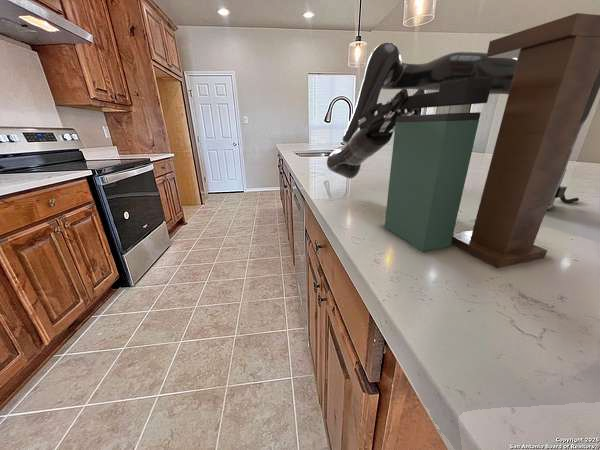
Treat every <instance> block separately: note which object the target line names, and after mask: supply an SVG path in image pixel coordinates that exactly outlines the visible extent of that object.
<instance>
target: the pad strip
mask: <svg viewBox="0 0 600 450" xmlns="http://www.w3.org/2000/svg"><path fill="white" fill-rule="evenodd" d="M492 81H493V78H466V79H461V80H456V81H451V82H445V83H441V84H440V88H439V91H431V92H425V94H419V95H413V94H412V95H408V100H407V101H406V102H405V103H404V104H403V105H402V106H401V107H400V108H399V109H398V110H403V109H405V110H407V109H416V108H418V109H428V108H438V107H450V106H451V107H452V106H466V105H468V106H469V105H479V104H481V105H482V104H487V103H488V102H489V101H488V100H489V97H490V94H489V93H490V89H491V85H492ZM391 100H392V98H390V101H391Z"/></svg>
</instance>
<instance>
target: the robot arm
mask: <svg viewBox="0 0 600 450" xmlns="http://www.w3.org/2000/svg"><path fill="white" fill-rule="evenodd" d="M486 56H487V52H479V51H455V52H450V53H448V54H447V53H446V54H444V55H442V56H439V57H437V58H434V59H433V60H430V61H428V62H425V63H424V62H423V63H408V62H407V63H406V62H402V57H401V52H400V51H399V47H398V46H397V45H396V44H395V43H394V42H390V41H389V42H383V43H381V44H379V45H378V46H376V47H375V48H374V49H373V50H372V52H371V53H370V55H369V57H368V60H367V63H366V64H367V65H366V68H365V72H364V77H363V80H362V83H361V87H360V89H359V93H358V97H357V100H356V104H355V107H354V109H353V112H352V114H351V117H350V120H349V122H348V124H347V127H346V129H345V131H344V133H343V136H342V142H343V144H342V145H339V146H338V147H336V148H334V149H333V150H332V151H331V152H330V153H329V154H328V157H327V159H326V167H327V169H328V170H329V171H330V172H331V173H335V174H337V175H339V176H342V177H343V178H346V179H348V180H349V179H350V180H351V179H354V178H356V176H357V175H358V174H359V172H360V170H361V166H362V164H363V163H364V162H365V161H367V160H368V159H370V157H372V156H374V155H375V154H377V152H379V151H380V150H381V149H382V148H383V147H384V146H386V145H387V144H388V143H389V142H390V141H391V139H392V137H393V134H394V133H395V124H396V116H412V115H421V112H420V110H419V109H420V108H416V109H403V110H398V109H399V108H400V107H401V106H402V105H403V104H404V103H405V102H406V101H407V100H408V96H409V92H408V90H416V91H415V92H414V93H413V94H412V95H419V94H426V92H425V91H429V92H430V91H431V92H439V88H440V84H441V83H445V82H451V81H456V80H461V79H466V78H493V81H492V85H491V89H490V93H489V95H509V91H510V87H511V83H512V79H513V76H514V72H515V68H516V64H517V60H518V58H489V57H486ZM382 90H390V91H391V90H400V91H398V92H397V93H396V94H395V95H394V96H393V97H392V98H391V99H392V100H391V99H390V100H388V101H386V102H385V104H383V102H378V101H379V97H380V94H381V91H382ZM599 92H600V70H599V72H598V75H597V78H596V80H595V83H594V85H593V88H592V91H591V93H590V96H589V99H588V101H587V104H586V107H585V109H584V112H583V115H582V117H581V120H580V122H579V125H578V128H577V130H576V133H575V136H574V138H573V141H572V144H571V146H570V149H569V152H568V154H567V157H566V160H565V162H564V165H563V167H562V170H561V173H560V175H559V178H558V181H557V183H556V186H555V189H554V191H553V194H552V197H551V199H550V202H549V204H548V207H547V210H546V211H548V210H551V209H552V207H553V205H554V203H555V200H556V199H559V200H560V201H561V202H562V203H564V204H570V203H571V204H572V203H575V202H578V201H579V200H580V198H579V197H573V198H569V199H568V198H566V195H565V193H566V191H567V189H568V186H562V182H563V180H564V177H565V175H566V171H567V167H568V164H569V161H570V158H571V156H572V154H573V151H574V148H575V145H576V142H577V140H578V138H579V135H580V133H581V130H582V128H583V126H584V124H585V123H586V121H587V119H588V118H589V115H590V113H591V110H592V109H593V106H594V103H595V101H596V98H597V97H598V94H599ZM376 112H377V113H376Z"/></svg>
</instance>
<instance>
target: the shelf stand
mask: <svg viewBox="0 0 600 450" xmlns="http://www.w3.org/2000/svg"><path fill="white" fill-rule="evenodd" d="M486 53H487V56H486V57H489V58H514V59H518V60H517V64H516V68H515V72H514V76H513V79H512V83H511V87H510V91H509V94H507V99H506V103H505V105H504V111H503V115H502V118H501V121H500V125H499V129H498V133H497V137H496V141H495V145H494V148H493V152H492V156H491V160H490V163H489V167H488V170H487V175H486V179H485V183H484V186H483V190H482V194H481V198H480V201H479V205H478V206H479V207H478V209H477V214H476V217H475V221H474V224H473V229H471V230H466V231H459V232H453V237H452V241H451V245H452V246H455V247H457V248H458V249H461V250H462V251H464V252H466V253H468V254H470V255H471V256H474V257H475V258H477V259H479V260H481V261H483V262H485V263H486V264H489V265H490V266H492V267H494V268H496V269H500V268H505V267H510V266H514V265H518V264H523V263H527V262H532V261H536V260H541V259H545V258H546V256H547V253H548V249H546V248H543V247H541V246H538V245H536V244H535V241H536V239H537V236H538V233H539V230H540V228H541V226H542V222H543V221H544V218H545V215H546V212H547V211H548V210H547V207H548V204H549V202H550V199H551V197H552V194H553V191H554V189H555V186H556V183H557V181H558V178H559V175H560V173H561V170H562V167H563V165H564V162H565V160H566V157H567V154H568V152H569V149H570V146H571V144H572V141H573V138H574V136H575V133H576V130H577V128H578V125H579V122H580V120H581V117H582V115H583V112H584V109H585V107H586V104H587V101H588V99H589V96H590V93H591V91H592V88H593V85H594V83H595V80H596V78H597V75H598V72H599V70H600V14H594V13H593V14H591V13H580V12H576V13H573V14H569V15H566V16H563V17H561V18H557V19H555V20H554V19H553V20H551V21H548V22H545V23H541V24H538V25H536V26H532V27H529V28H526V29H523V30H520V31H517V32H514V33H511V34H507V35H505V36H502V37H499V38H496V39H493V40H490V41H489V43H488V48H487V52H486Z"/></svg>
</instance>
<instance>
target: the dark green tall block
mask: <svg viewBox="0 0 600 450" xmlns="http://www.w3.org/2000/svg"><path fill="white" fill-rule="evenodd" d="M481 114H482V112H479V111H477V112H476V111H475V112H450V113H449V112H447V113H433V114H431V113H430V114H419V115H412V116H396V124H395V131H394V132H393V134H394V135H393V142H392V151H391V152H392V153H391V162H390V172H389V181H388V192H387V199H386V209H385V218H384V228H386V230H389V231H390V232H392V233H393V234H395V235H396V236H398V237H400V238H401V239H402V240H404V241H406V242H407V243H409V244H410V245H412V246H413V247H415V248H416V249H418V250H419V251H421V252H429V251H434V250H439V249H445V248H449V247H451V246H452V244H451V241H452V237H453V233H455V226H456V225H457V224H456V223H457V218H458V215H459V210H460V206H461V203H462V197H463V193H464V190H465V189H464V188H465V184H466V181H467V176H468V172H469V168H470V167H469V166H470V162H471V158H472V154H473V149H474V145H475V140H476V136H477V132H478V127H479V123H480V117H481Z"/></svg>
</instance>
